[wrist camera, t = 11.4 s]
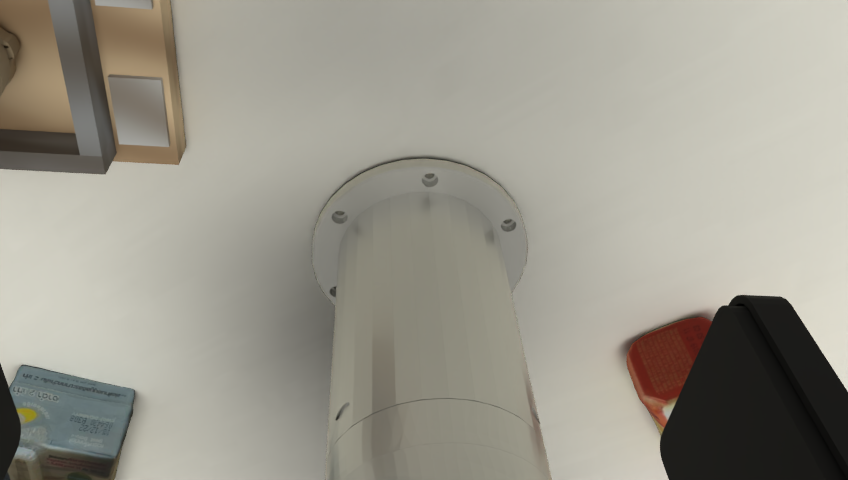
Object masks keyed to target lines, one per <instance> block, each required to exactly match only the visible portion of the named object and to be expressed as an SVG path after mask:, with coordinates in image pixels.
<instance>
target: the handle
mask: <svg viewBox="0 0 848 480" xmlns="http://www.w3.org/2000/svg"><path fill="white" fill-rule="evenodd" d="M19 50H20V44H19V41H18V40H17V38H16V37H15V36H14V35H13V34H10V33H8V32H7V31H5V30H4V29H3V28H1V27H0V97H1V95H2V93H3V92H4V90H5V87H6V85H8V84H9V83H10V81H11V80H12V78H13V77H14V75H15V72H16V66H15V64H14V62H15V56H16V55H17V53H18V52H19Z"/></svg>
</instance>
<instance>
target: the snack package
mask: <svg viewBox="0 0 848 480" xmlns="http://www.w3.org/2000/svg"><path fill="white" fill-rule="evenodd" d="M711 323H712V321H710V320H708V319H706V318H703V317H696V318H690V319H684V320H681V321H677V322H674V323H671V324H669V325H666V326H664V327H661V328H658V329H656V330H654V331H652V332H649V333H647V334H645V335H644V336H642V337H641V338H639V339H638V340H637V341H635V342H634V343H632V345H631V347H630V349H629V351H628V353H627V367H628V371H629V373H630V376H631V379H632V381H633V384H634V387H635V389H636V391H637V394H638V397H639V399H640V400H641V402H642V403H643V404H644V405H645V406H646V408H647V409H648V411H649V413H650V414H651V416H652V418H653V420H654V422H655V424H656V426H657V428H658V430H659V433H660V435H662V432H663V430H664V428H665V425H666V423H667V421H668V419H669V416H670V414H671V412H672V410H673V408H674V405H675V403H676V401H677V399H678V397H679V394H680V392H681V390H682V388H683V385H684V383H685V381H686V379H687V377H688V374H689V372H690V370H691V368H692V365H693V363H694V361H695V359H696V357H697V354H698V352H699V350H700V348H701V346H702V343H703V341H704V339H705V337H706V334H707V332H708V330H709V328H710V326H711Z"/></svg>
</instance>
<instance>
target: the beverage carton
mask: <svg viewBox="0 0 848 480" xmlns="http://www.w3.org/2000/svg"><path fill="white" fill-rule="evenodd" d="M9 390H10V393H11V395H12V398H13V401H14V404H15V407H16V410H17V413H18V415H19V418H20V423H21V436H20V442H19V446H18V448H17V451H16V453H15V456H14V458H13V460H12V462H11V464H10V467H9V469H8V471H7V473H6V475H5V478H4V480H114V479H115V475H116V471H117V466H118V462H119V458H120V454H121V449H122V445H123V442H124V440H125V437H126V433H127V430H128V426H129V423H130V420H131V417H132V414H133V402H134V395H135V391H134V390H133V389H130V388H126V387H120V386H115V385H111V384H106V383H101V382H96V381H92V380H88V379H84V378H79V377H75V376H70V375H66V374H61V373H57V372H52V371H48V370H44V369H40V368H34V367H30V366H25V365H24V366H21V367H20V368H19V369H18V371H17V374H16V376H15V379H14V381H13V382H12V383H11V385H10V387H9Z"/></svg>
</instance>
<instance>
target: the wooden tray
mask: <svg viewBox="0 0 848 480" xmlns="http://www.w3.org/2000/svg"><path fill="white" fill-rule="evenodd" d="M0 27H1V28H3V29H4V30H5V31H7V32H8V33H10V34H13V35H14V36H15V37H16V38H17V40H18V41H19V44H20V50H19V52H18V53H17V55H16V56H15V62H14V64H15V66H16V72H15V75H14V77H13V78H12V80H11V81H10V83H9V84H8V85H6V87H5V90H4V92H3V93H2V95H1V97H0V169H12V170H32V171H51V172H70V173H89V174H106V172H107V170H108V168H109V166H110V165H111V163H112V161H119V162H138V163H156V164H175V165H179V163H180V161H181V158H182V156H183V153H184V150H185V148H186V143H185V133H184V124H183V115H182V106H181V97H180V87H179V78H178V69H177V60H176V50H175V41H174V32H173V23H172V14H171V4H170V0H0Z"/></svg>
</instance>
